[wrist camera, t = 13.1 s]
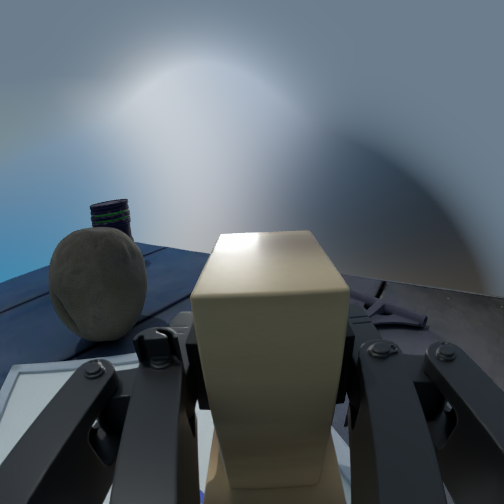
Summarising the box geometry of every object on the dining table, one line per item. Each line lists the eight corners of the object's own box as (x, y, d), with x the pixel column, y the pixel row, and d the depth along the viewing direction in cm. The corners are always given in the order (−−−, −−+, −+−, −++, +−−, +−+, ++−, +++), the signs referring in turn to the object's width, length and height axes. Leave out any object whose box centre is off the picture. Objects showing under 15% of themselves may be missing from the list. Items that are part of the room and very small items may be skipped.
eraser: (340, 551, 6) (455, 353, 3) (209, 556, 7) (91, 371, 3) (312, 396, 16) (321, 215, 13) (227, 400, 16) (205, 221, 13)
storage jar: (95, 271, 64) (84, 208, 59) (103, 258, 73) (94, 203, 68) (134, 265, 66) (125, 201, 62) (138, 254, 75) (130, 197, 71)
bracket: (275, 330, 38) (275, 311, 37) (347, 295, 46) (348, 279, 45) (364, 383, 27) (368, 362, 26) (425, 325, 35) (429, 307, 34)
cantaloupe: (172, 340, 36) (152, 225, 32) (70, 372, 29) (31, 252, 24) (142, 302, 48) (127, 213, 43) (65, 323, 40) (41, 232, 36)
